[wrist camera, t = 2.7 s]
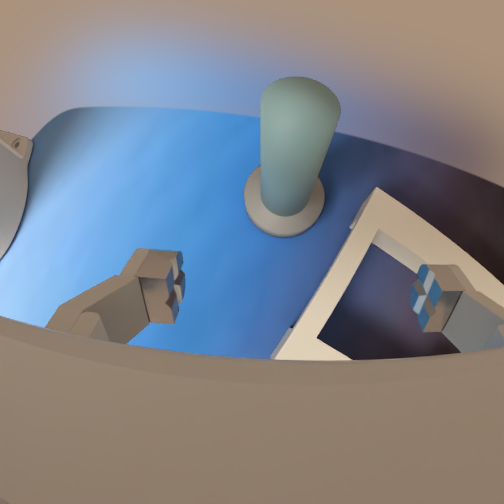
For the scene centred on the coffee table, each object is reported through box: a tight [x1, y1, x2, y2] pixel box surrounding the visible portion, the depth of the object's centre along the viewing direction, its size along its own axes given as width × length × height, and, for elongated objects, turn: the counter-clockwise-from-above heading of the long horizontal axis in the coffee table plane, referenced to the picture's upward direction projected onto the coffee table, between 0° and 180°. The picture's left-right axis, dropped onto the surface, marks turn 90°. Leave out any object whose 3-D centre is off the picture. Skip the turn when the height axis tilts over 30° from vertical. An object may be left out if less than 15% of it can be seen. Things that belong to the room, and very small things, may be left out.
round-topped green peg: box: [244, 77, 341, 238], centre depth 18 cm, size 6×6×12 cm
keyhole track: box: [270, 187, 504, 361], centre depth 20 cm, size 24×14×3 cm, turn 57°
